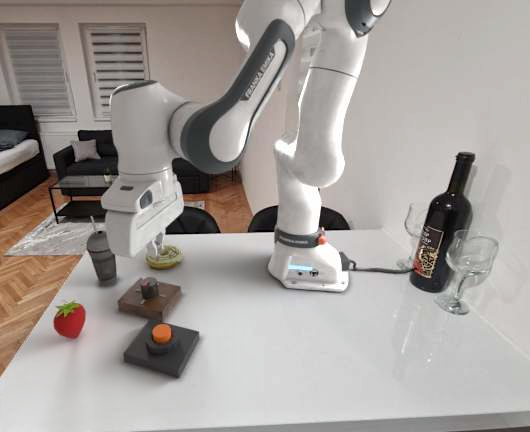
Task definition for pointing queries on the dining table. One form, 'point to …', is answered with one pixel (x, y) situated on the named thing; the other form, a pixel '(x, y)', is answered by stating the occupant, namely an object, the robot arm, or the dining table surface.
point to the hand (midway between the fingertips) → (156, 252)
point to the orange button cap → (161, 333)
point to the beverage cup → (102, 257)
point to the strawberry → (69, 319)
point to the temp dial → (149, 287)
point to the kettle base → (162, 349)
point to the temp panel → (150, 301)
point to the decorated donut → (165, 258)
